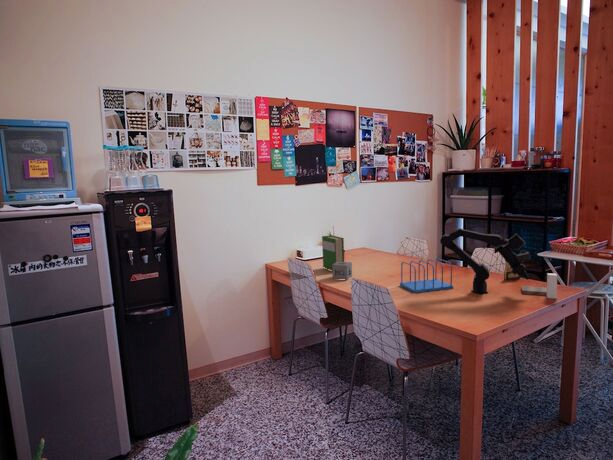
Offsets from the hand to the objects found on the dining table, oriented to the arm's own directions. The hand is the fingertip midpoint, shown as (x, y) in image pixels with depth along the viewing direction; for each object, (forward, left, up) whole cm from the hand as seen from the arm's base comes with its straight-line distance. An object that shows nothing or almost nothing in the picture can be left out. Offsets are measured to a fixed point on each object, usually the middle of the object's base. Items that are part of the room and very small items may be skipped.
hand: (528, 279), depth 211 cm
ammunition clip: (+18, +31, -9) cm, 37 cm away
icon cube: (-76, +76, -9) cm, 107 cm away
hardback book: (-73, +101, -9) cm, 125 cm away
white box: (+11, -3, -9) cm, 15 cm away
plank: (+9, +2, -9) cm, 13 cm away
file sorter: (-38, +36, -9) cm, 53 cm away
